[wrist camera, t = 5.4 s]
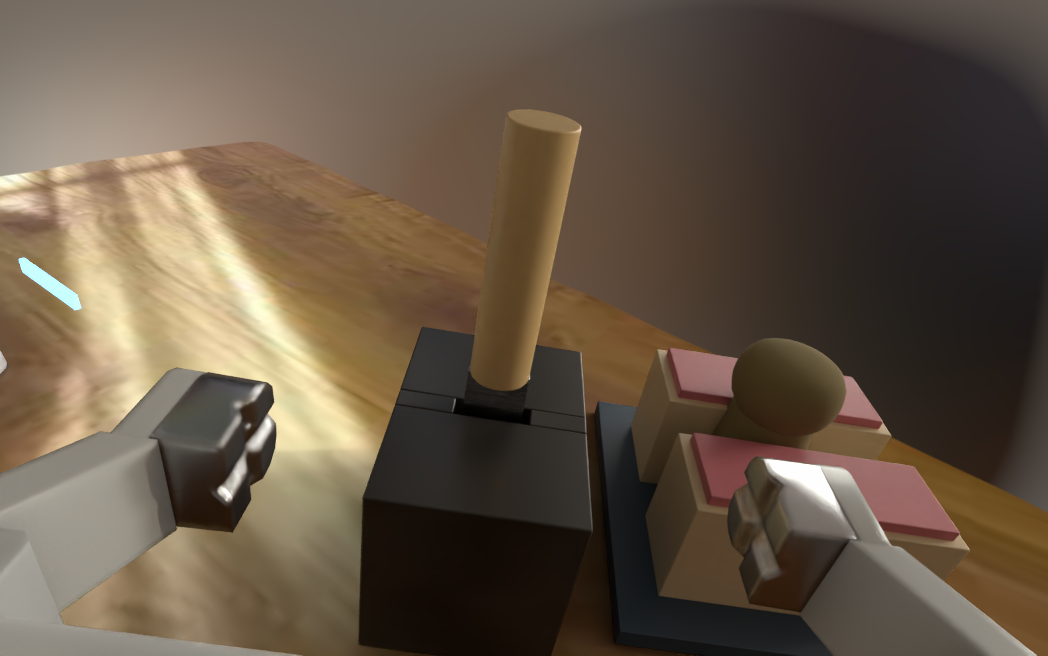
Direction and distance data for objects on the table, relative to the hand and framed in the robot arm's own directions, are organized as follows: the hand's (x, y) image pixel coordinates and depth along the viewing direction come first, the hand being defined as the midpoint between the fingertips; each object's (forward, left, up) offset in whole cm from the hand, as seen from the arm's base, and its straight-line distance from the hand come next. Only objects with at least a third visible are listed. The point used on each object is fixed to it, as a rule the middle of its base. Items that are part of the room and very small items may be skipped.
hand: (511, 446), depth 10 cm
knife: (-7, +10, -18) cm, 22 cm away
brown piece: (+2, +22, -18) cm, 28 cm away
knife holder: (-7, +10, -18) cm, 22 cm away
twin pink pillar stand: (+3, +22, -18) cm, 29 cm away
